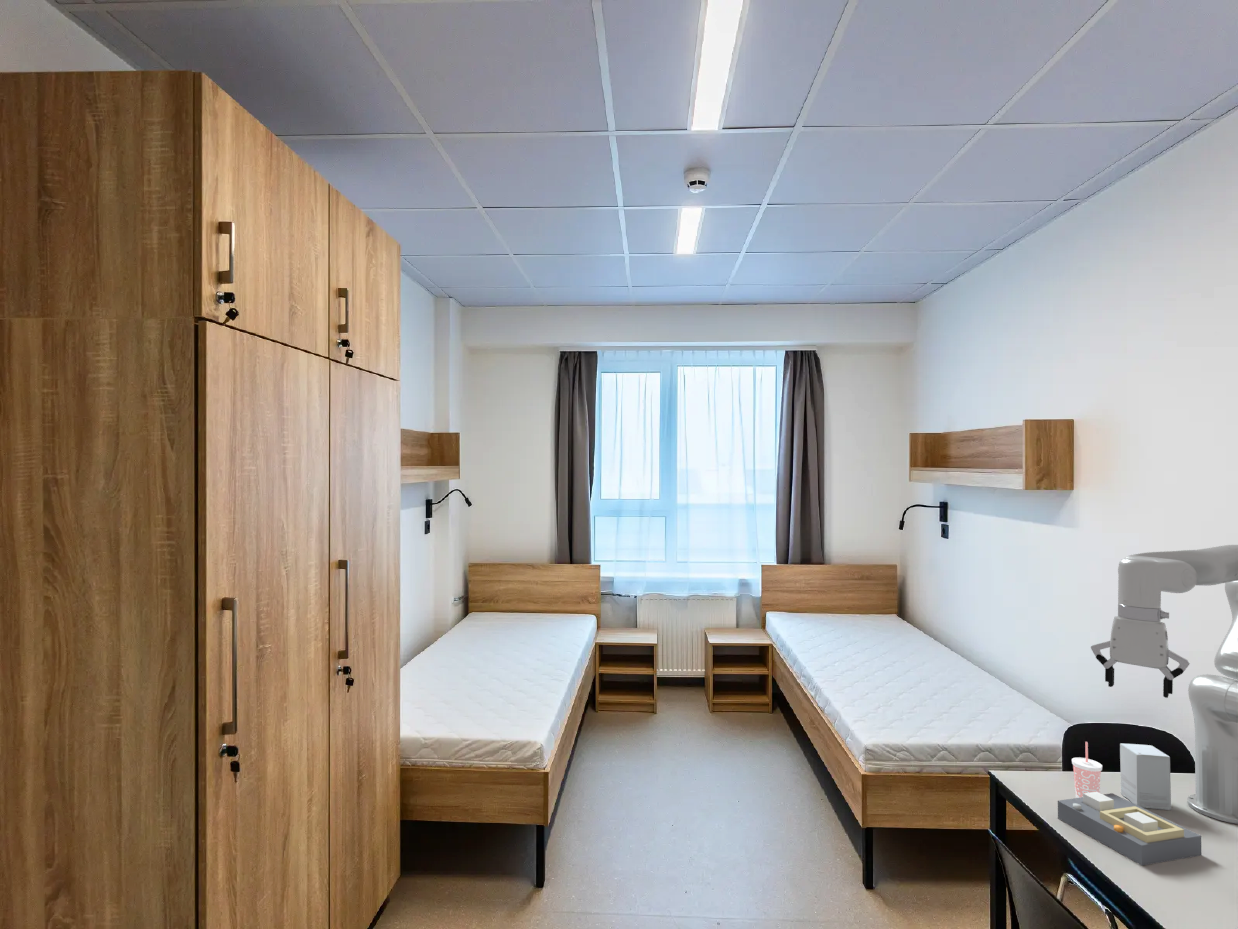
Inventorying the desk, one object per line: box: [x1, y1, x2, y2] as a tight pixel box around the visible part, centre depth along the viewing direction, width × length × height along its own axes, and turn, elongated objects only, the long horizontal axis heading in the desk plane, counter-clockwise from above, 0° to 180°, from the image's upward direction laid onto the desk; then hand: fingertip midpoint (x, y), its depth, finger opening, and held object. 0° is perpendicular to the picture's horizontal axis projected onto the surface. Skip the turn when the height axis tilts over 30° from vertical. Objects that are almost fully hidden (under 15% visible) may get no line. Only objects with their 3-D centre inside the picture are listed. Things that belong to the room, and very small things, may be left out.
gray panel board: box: [1057, 792, 1203, 866], centre depth 143 cm, size 16×19×6 cm
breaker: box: [1083, 792, 1114, 812], centre depth 148 cm, size 4×4×4 cm
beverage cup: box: [1071, 741, 1103, 798], centre depth 159 cm, size 6×6×14 cm
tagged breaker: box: [1124, 812, 1158, 832], centre depth 138 cm, size 4×4×4 cm
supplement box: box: [1119, 742, 1172, 811], centre depth 158 cm, size 7×7×13 cm
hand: (1137, 691), depth 145 cm, fingers open, 9 cm apart
